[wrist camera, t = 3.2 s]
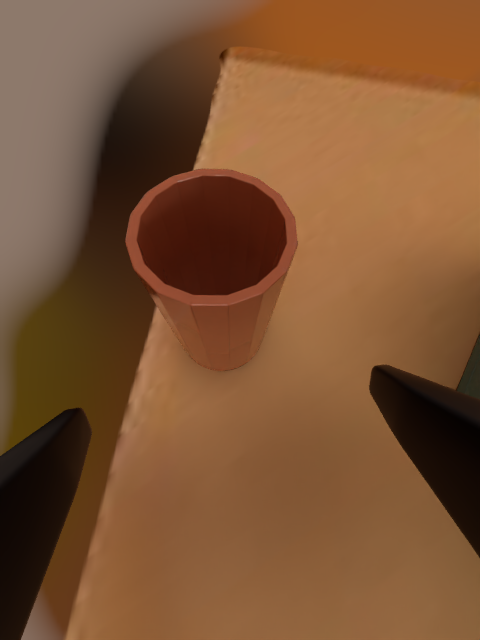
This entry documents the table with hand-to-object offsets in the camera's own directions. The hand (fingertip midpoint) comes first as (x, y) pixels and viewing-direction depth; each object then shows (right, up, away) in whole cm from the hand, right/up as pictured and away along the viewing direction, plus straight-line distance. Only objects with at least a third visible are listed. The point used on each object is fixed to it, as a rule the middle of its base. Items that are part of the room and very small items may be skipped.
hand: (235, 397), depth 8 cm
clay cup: (-1, +2, +14) cm, 14 cm away
